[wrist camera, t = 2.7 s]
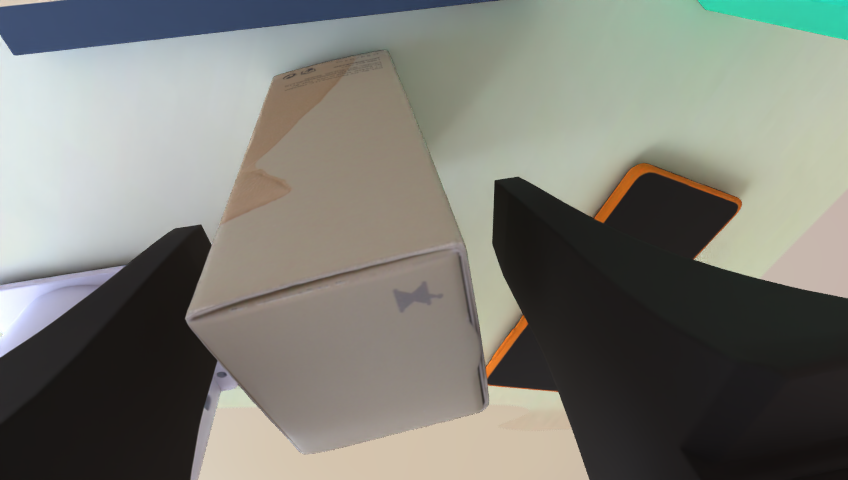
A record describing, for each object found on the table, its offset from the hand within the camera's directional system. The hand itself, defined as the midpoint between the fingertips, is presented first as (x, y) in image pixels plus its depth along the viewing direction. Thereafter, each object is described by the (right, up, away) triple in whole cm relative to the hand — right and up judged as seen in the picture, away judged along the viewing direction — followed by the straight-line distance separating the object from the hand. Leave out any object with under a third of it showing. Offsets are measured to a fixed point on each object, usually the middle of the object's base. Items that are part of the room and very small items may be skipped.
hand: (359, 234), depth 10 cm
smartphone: (+11, -3, +14) cm, 18 cm away
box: (-1, +4, +6) cm, 7 cm away
